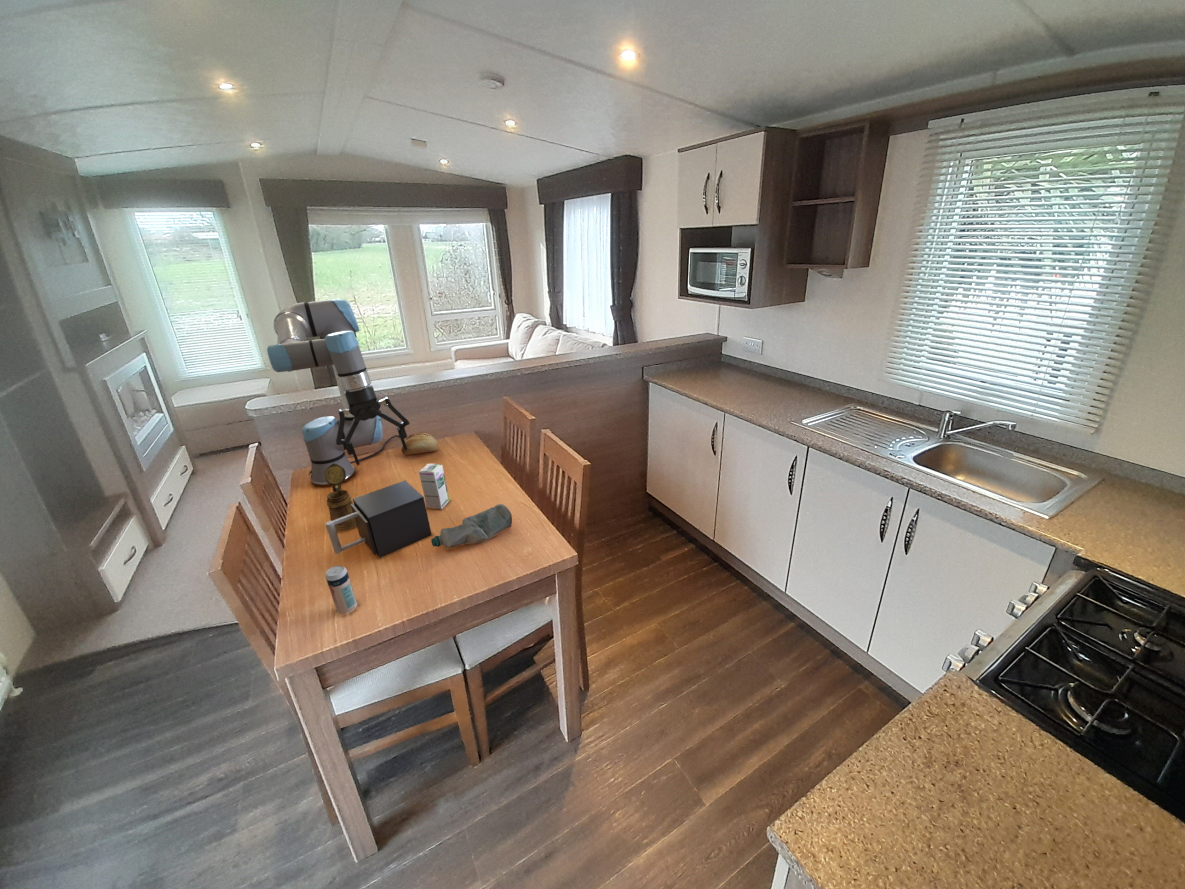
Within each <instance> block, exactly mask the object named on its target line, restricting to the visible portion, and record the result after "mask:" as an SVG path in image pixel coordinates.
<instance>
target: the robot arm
mask: <svg viewBox="0 0 1185 889" xmlns="http://www.w3.org/2000/svg"><path fill="white" fill-rule="evenodd" d="M273 331H274V333H275V334H276V335H277V343H275V344H271V345H268V346H267V348H266V349H267V350H266V352H267V355H268V359H269V362H270V365H271V368H272V370H273V371H274V372H276V373H284V372H285V373H286V372H288V373H290V372H294V371H300V370H307V369H314V368H320V367H327V366H332V370H333V372H334V378H335V381H336V384H337V388H338V391H339V396H340V399H341V403H342V406H343V408H339V409H338V417H339V419H337V418H335V417H334V416H332V415H331V416H322V417H318V418H315V419H312V420H311V421H309V422H307V423H306V424H305V425H304V426H303V427H302V430H301V433H302V437H303V442H304V443H305V446H306V450H307V453H308V456H309V460H310V463H311V468H310V471H309V473H308V476H310V481H311V484H312V485H313V486H314V487H319V488H327V487H328V488H329V487H332V485H331V484H329V483H327V481H326V479H325V471H326V470H327V468H328V467H329V466H331V465H332V464H333V463H334V464H337V465H340V466H341V467H343V468H344V470H345V473H346V477H345V479H344V481H343V482H342V483H341V484H343V483H346V482H348V481H349V480H351V479H352V478H354V477H355V475H356V473H357V472H356V468H355V467H354V465H353V464H356V466H359V465H360V462H361V461H363V460H366V459H369V458H371V457H374V456H376V455H377V454H379V453H381V452H382V451H384V448H385V446H386V444H387V443H388V442H390V441H391V440H392V439H394V438H396V437H398V438H399V439H400V442H401V444H402V445H401V446H403V448H404V450H407V447H406V444H405V439H407V438H408V435H407V431H406V427H407V426H410V424H411V423H410V421H409V420H408V419H407V418H406V417H405V415H404V414H402V413H401V412H400V411H399V409H397V408H396V407H395V406H394V405H393V404H392V402H391V400H390V398H389V397H388V396H385V397H384V398H383V399H380V400H379V399H378V398H377V395H376V392H375V389H374V386H373V385H372V379H371V376H370V374H369V372H368V369H367V366H366V363H365V360H364V357H363V354H362V351H361V348H360V344H359V341H358V339H357V333H359V332H360V327H359V324H358V322H357V318H356V316H355V313H354V311H353V308H352V306H351V304H350V302H349V301H348V300H346V299H342V298H341V299H326V300H317V301H316V300H315V301H307V302H297V303H294V304H291V305H289V306H287V307H285V308H283V309H282V310H281V311H280V312H278V313H277V315H276V316H275V317H274V319H273ZM317 337H319V339H310V340H307V338H317ZM381 406H384V407H387V408H388V409H389V410H390V411H391V412H392V413H393V414H394V415H395V416H397V418H399V419H400V420H401V422H400V421H399V420H397V419H395V418H394V417H392V416H390V415H388V414H387V413H385V412H384V411H382V410H380V408H381ZM382 419H383V420H385V421H386V422H389V423H390V424H392V425H394V426H395V427H397V428H396V430H397V433H398V434H395V435H393V436H390V437H389V438H388V439H387V440H385V441H384V443H383V444H382V446H381V448H380V449H379V450H378V451H375V452H374V453H372V454H370V455H368V456H365V457H364V456H363V457H361V458H358V455H357V453H356V450H355V449H356V448H361V447H365V446H371V445H374V444H378V443H380V442H381V441H382V440H383V424H382ZM397 435H398V436H397ZM345 451H346V452H347V455H348V456H351V455H352V457H353V458H354V460H352V461H350V460H349V458H348V456H346V452H345Z"/></svg>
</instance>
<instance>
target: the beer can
mask: <svg viewBox="0 0 1185 889" xmlns="http://www.w3.org/2000/svg"><path fill="white" fill-rule="evenodd" d="M324 576H325V580H326V583H327V587H328V589H329V592H330V595H331V598H332V601H333V603H334V606H335V609H336V613H338V614H341V615H345V614H349V613H351V612H353V611H354V610H355V609H356V608H357V607H358V601H357V598H356V595H355V591H354V589H353V586H352V583H351V578H350V576H349V573H348V569H347V568H346V567H344V566H343V565H335V566H332V567H330V568H329V569H327V571H326V572H325V575H324Z"/></svg>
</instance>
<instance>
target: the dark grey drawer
mask: <svg viewBox="0 0 1185 889" xmlns="http://www.w3.org/2000/svg"><path fill="white" fill-rule="evenodd" d="M351 508H352V511H353V513H352V514H349V515H347V516H344V517H341V518H339V519H336V520H333V521H331V520H328V521H326V522H325V527H326V531H327V534H328V537H329V540H330V542H331V546H332V549H333V552H334V554H335V555H340V554H341V553H342V552H344V551H347V550H349V549H351V548H353V547H357V546H359V545H362V544H365V545H366V547H367V548H368V549H369V550H370V551H371V553H372V554H373V555H374V556H377V549H376V545H375V542H374V538H373V534H372V531H371V527H370V523H369V520H368V518H367V517H366V516H365V515H364V514H361V512H360V511H359V510H358V509H357V508H356V506H355V505H354V503H353V504H351ZM352 518H355V522H356V525H357V526H356V528H357V532H358V535H359V537H360V538H359V539H357V540H355V541H352V542H349V543H346V544H345V545H341V541H340V538H339V534H338V531H336V528H335V525H336V524H339V523H341V522H344V521H347V520H349V519H352Z"/></svg>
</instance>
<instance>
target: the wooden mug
mask: <svg viewBox="0 0 1185 889" xmlns="http://www.w3.org/2000/svg"><path fill="white" fill-rule="evenodd" d="M345 477H346V473H345V470H344V468H343V467H341V466H340V465H337V464H334V463H333V464H332V465H331V466H329V467H328V468H327V470H326V471H325V479H326V481H327V483H329V484H331V485H332V486H331V487H332V492H330V493H328V494H327V495H326V506H327V507H328V511H329V518H330V520H329V521H333V520H336V519H339V518H341V517H344V516H347V515H349V514H352V513H353V511H352V508H351V504H354V502H353V499H352V496H351V495H350V493H349V491H348V490H346V489H343V488H342V484H343V483H342V482H343V481H344V479H345ZM335 528H336V532H345V531H349V530H352V529H354V528H357V525H356V522H355V518H352V519H349V520H347V521H344V522H341V523H339V524H336V525H335Z"/></svg>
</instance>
